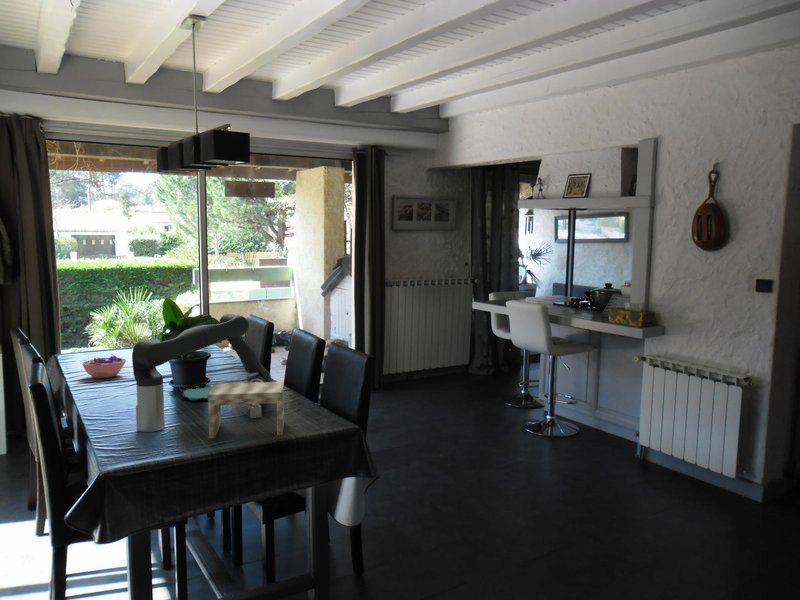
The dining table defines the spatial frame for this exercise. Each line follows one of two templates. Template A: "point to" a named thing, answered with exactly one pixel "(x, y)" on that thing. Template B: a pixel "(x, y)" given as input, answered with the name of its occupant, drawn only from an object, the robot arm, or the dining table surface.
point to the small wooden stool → (244, 400)
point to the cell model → (104, 366)
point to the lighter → (254, 410)
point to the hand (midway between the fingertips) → (252, 399)
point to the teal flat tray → (197, 393)
